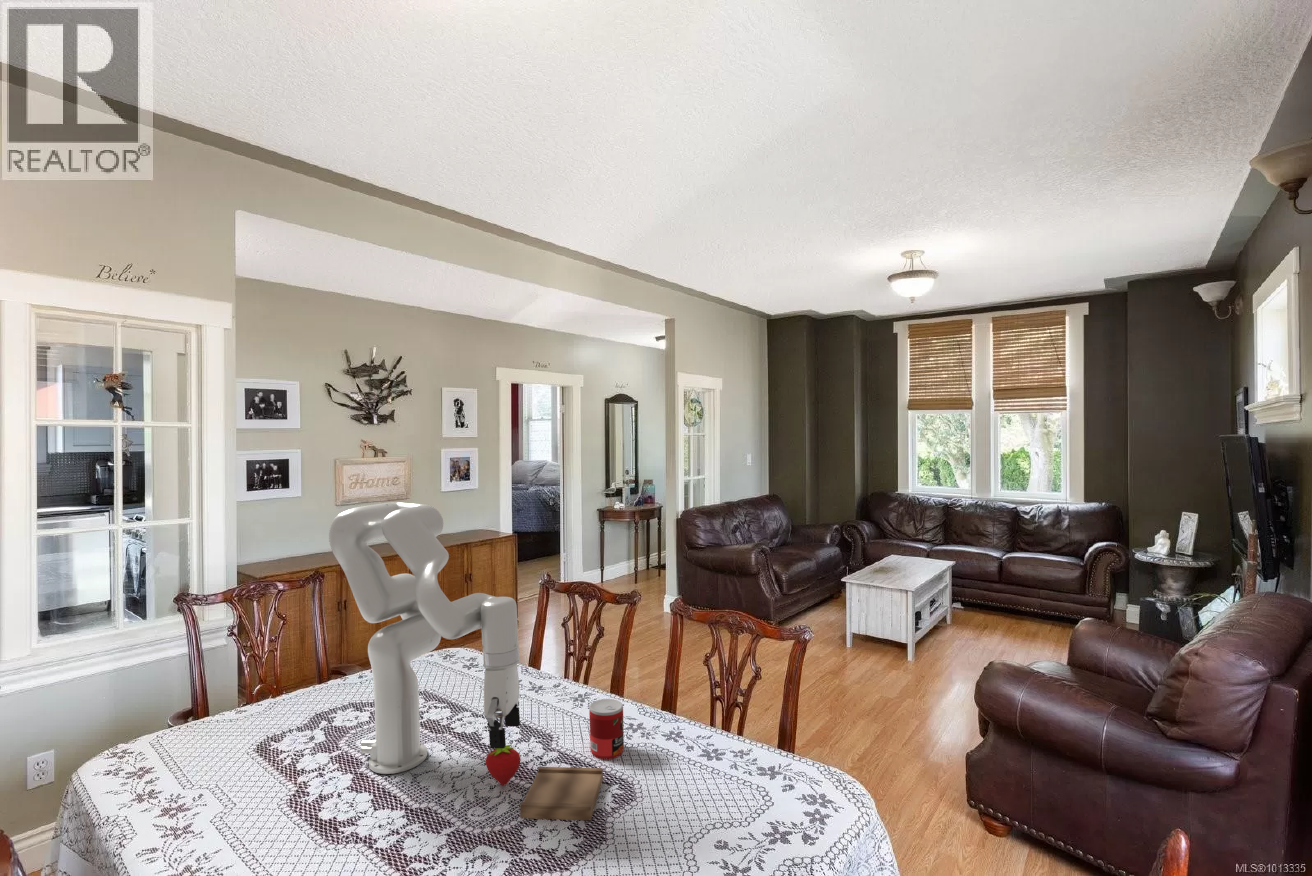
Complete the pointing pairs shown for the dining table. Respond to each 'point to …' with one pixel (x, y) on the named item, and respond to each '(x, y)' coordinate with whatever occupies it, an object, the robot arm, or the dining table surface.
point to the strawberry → (503, 763)
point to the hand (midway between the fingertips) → (505, 736)
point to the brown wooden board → (563, 793)
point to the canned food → (606, 728)
